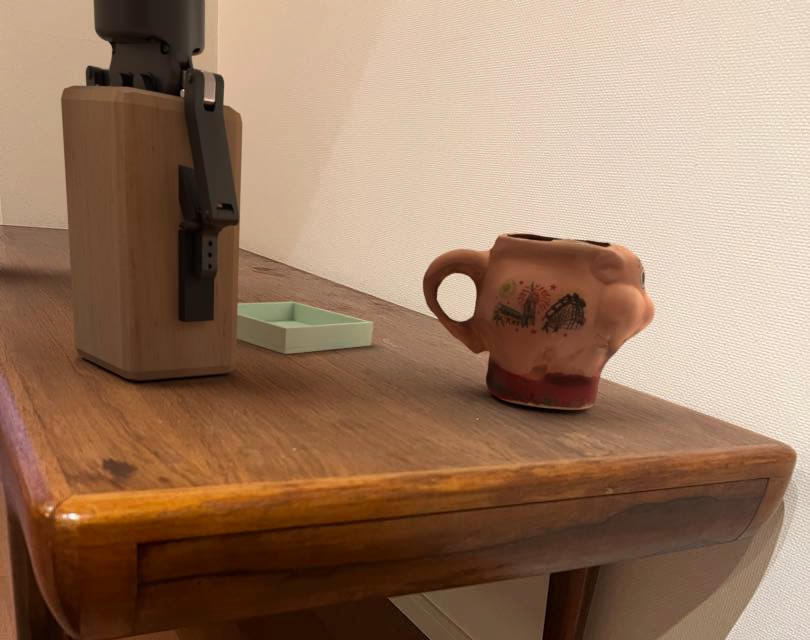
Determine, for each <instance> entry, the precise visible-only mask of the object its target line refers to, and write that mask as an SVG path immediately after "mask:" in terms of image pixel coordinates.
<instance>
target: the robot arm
mask: <svg viewBox="0 0 810 640" xmlns="http://www.w3.org/2000/svg"><path fill="white" fill-rule="evenodd" d="M93 15H94V16H93V21H94V31H95V33H96V35H97V36H98V37H99V38H100V39H101V40H102V41H105V42H108V43H109V45H110V46H111V57H110V62H109V67H108V68H105V67H99V66H95V65H87V67H86V68H85V86H112V87H131V88H136V89H142V90H147V91H152V92H157V93H163V94H168V95H173V96H179V97H182V98H183V99H184V108H185V117H186V124H187V130H188V136H189V142H190V148H191V154H192V160H193V166H194V169H193V168H189V167H186V166H182V165H179V164H178V165H179V202H180V206H181V209H182V212H183V215H184V218H185V220H184V221H183V222H181V223H180V224H181V225H178V226H179V228H180V229H181V230H179V320H180V321H183V322H194V321H212V320H214V278H216V274H217V261H218V258H217V257H218V234H219V232H221V231H222V229H223V228H225V227H228V226H236V225H237V224H238V222H239V211H238V204H237V198H236V191H235V185H234V179H233V172H232V166H231V159H230V153H229V146H228V140H227V134H226V127H225V121H224V114H223V105H225V103H224V100H225V99H224V98H225V79H224V77H223V75H221V74H220V73H216V72H211V71H207V70H202V69H198V68H194V67H195V66H194V64H193V57H195V56H199V55H201V54H203V53H204V51H205V48H206V0H93ZM218 204H222V207H218ZM198 209H199V210H201V212H199V211H198Z"/></svg>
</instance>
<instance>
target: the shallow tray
mask: <svg viewBox="0 0 810 640" xmlns="http://www.w3.org/2000/svg"><path fill="white" fill-rule="evenodd" d="M373 328H374V321H370V320H366V319H362V318H358V317H354V316H351V315H347V314H343V313H339V312H335V311H331V310H327V309H323V308H320V307H316V306H312V305H310V304H309V305H308V304H305V303H300V302H297V301H270V302H245V303H244V302H241V303H238V305H237V341H242V342H246V343H248V344H252V345H255V346H258V347H261V348H264V349H266V350H270V351H273V352H275V353H280V354H283V355H291V354H300V353H301V354H302V353H313V352H321V351H329V350H340V349H350V348H360V347H370V346H372V341H373V332H374V331H373V330H374V329H373Z"/></svg>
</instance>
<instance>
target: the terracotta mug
mask: <svg viewBox="0 0 810 640" xmlns="http://www.w3.org/2000/svg"><path fill="white" fill-rule="evenodd" d="M427 267H428V268H426V271H425V273H424V275H423V278H422V292H423V296H424V300H425V302H426V306H427V307H428V309H429V310H430V312H431V313H432V314H433V315H434V316H435V317H436V318H437V320H438V321H439V322H440V324H441V325H443V327H444V328H445V329H446V331H448V332H449V333H450V335H451V336H452V337H453V338H455V339H457V340H458V341H459V342H461V343H462V344H463V345H464V346H465V347H466V348H467V349H468V350H469V351H471V352H472V353H473V354H475V355H478V354H481V353H484V352H488V353H489V356H488V360H487V370H486V376H485V384H486V387H487V390H488V391H489V392H490V393H491V395H492V396H494V397H496V398H497V399H500V400H502V401H505V402H509V403H513V404H517V405H523V406H526V407H527V406H528V407H536V408H544V409H555V410H567V411H568V410H569V411H578V410H579V411H580V410H587V409H589V408H592V407H593V406H594V405H595V403H596V400H597V397H598V391H599V384H600V380H601V374H602V373H603V370H604V368H605V367H606V365H607V363H608V362H609V361H610V359H611V358H612V357H614V356H615V355H616V353H617V352H618V351H619V350H620V349H621V347H623V345H624V344H625V343H626V342H627V341H630V340H631V339H632V338H634V337H635V336H637V335H638V334H639V333H641V332H643V331H644V330H645V329H646V328H648V327H649V326H650V325H651V323H652V322H653V320H654V318H655V314H656V307H655V304H654V301H653V299H652V298H651V297H650V296H649V294H648V292H647V291H646V287H645V286H646V285H645V284H646V283H645V281H646V271H645V268H644V265H643V263H642V261H641V259H640V258H639V257H638V255H637V254H635V252H633V251H632V250H630V249H629V248H628V247H626V246H624V245H621V244H616V243H612V242H606V241H605V242H604V241H596V240H589V239H571V238H559V237H552V236H546V235H545V236H544V235H539V234H533V233H525V232H507V233H503V234H499V235H497V237H496V239H495V241H494V244H493V246H492V247H491V248H490V249H488V250H475V249H469V248H457V249H452V250H449V251H446V252H444V253H442V254H440V255H438V256H437V257H436V258H434V259H433V260H432V262H430V264H429V265H428V266H427ZM453 274H460V275H464V276H467V277H468V278H469V279H470V280H471V281H472V282H473V284H474V287H475V292H476V293H475V304H474V311H473V314H472V316H471V317H469V318H468V319H466V320H460V321H459V320H455V319H453V318H451V317H449V315H448V314H447V313H446V312H445V310H443V308H442V306H441V304H440V302H439V301H438V293H439V292H438V291H439V288H440V286H441V284H442V283H443V282H444V280H445V279H446V278H447V277H450V276H451V275H453Z"/></svg>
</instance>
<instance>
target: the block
mask: <svg viewBox="0 0 810 640" xmlns="http://www.w3.org/2000/svg"><path fill="white" fill-rule="evenodd" d="M60 105H61V123H62V124H61V125H62V141H63V143H62V144H63V157H64V175H65V178H64V179H65V195H66V208H67V209H66V210H67V212H66V213H67V227H68V230H67V231H68V247H69V263H70V264H69V265H70V279H71V280H70V281H71V297H72V298H71V299H72V315H73V334H74V347H75V350H76V351H77V354H78V356H79V357H82V358H83V359H85V360H87V361H89V362H92V363H94V364H96V365H98V366H99V367H102V368H104V369H106V370H108V371H110V372H112V373H114V374H116V375H118V376H120V377H123V378H124V379H127V380H130V381H133V382H134V383H135V382H136V383H137V382H147V381H148V382H149V381H159V380H171V379H185V378H194V377H195V378H196V377H204V376H205V377H207V376H218V375H225V374H228V373H231V372H233V371H234V370H235V367H236V365H237V341H238V339H237V305H238V304H239V302H238V301H239V299H238V298H239V267H240V266H239V265H240V264H239V263H240V233H241V231H240V230H241V229H240V227H241V193H242V192H241V191H242V190H241V189H242V187H241V186H242V153H243V151H242V150H243V119H242V116H241V113H240V112H238V111H236V110H235V109H234V108H233V107H231V106H230V105H227V104H223V114H224V121H225V127H226V134H227V140H228V146H229V153H230V159H231V166H232V172H233V179H234V185H235V191H236V198H237V204H238V211H239V222H238V224H237V225H236V226H228V227H225V228H223V229H222V231H221V232H219V234H218V257H217V258H218V261H217V274H216V278H214V320H212V321H194V322H183V321H180V320H179V230H181V229H180V228H179V226H178V225H181V224H180V223H181V222H183V221H184V220H185V218H184V215H183V212H182V209H181V206H180V202H179V165H182V166H186V167H189V168H193V169H194V166H193V160H192V154H191V148H190V142H189V136H188V130H187V124H186V117H185V108H184V99H183V98H182V97H179V96H173V95H168V94H163V93H157V92H152V91H147V90H142V89H136V88H131V87H112V86H86V85H71V86H68V87H65V88H63V90H62V93H61V98H60ZM178 164H179V165H178ZM218 207H222V204H218ZM198 211H199V212H201V210H199V209H198Z"/></svg>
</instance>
